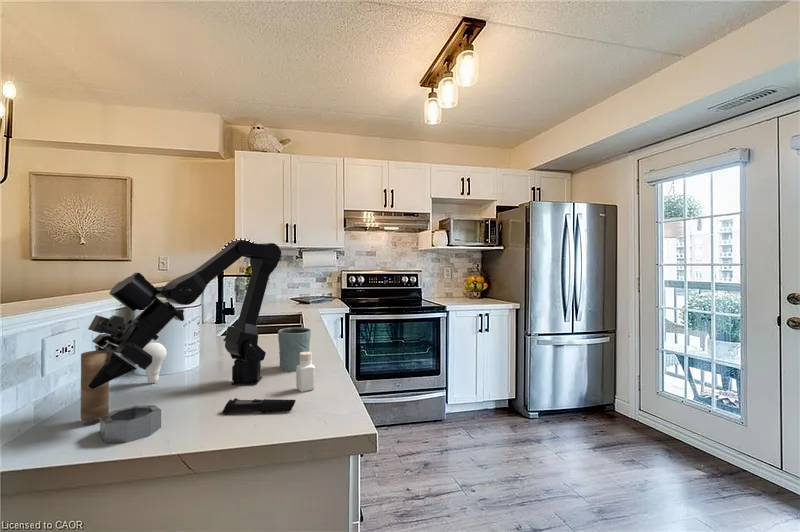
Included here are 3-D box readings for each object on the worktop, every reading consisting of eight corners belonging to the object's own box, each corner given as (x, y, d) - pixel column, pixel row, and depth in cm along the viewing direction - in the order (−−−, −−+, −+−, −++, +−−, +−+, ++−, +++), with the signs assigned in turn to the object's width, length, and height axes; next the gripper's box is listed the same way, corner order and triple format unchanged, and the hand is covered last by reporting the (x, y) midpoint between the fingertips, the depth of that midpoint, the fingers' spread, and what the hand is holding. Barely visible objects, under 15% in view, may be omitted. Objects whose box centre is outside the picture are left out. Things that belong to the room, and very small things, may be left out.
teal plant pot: (298, 362, 127) (298, 326, 127) (317, 367, 120) (317, 330, 120) (271, 368, 119) (271, 330, 119) (289, 374, 112) (290, 334, 112)
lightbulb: (156, 386, 100) (157, 345, 100) (133, 386, 100) (134, 344, 100) (171, 380, 106) (171, 340, 106) (149, 379, 106) (150, 340, 106)
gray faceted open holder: (168, 421, 78) (168, 404, 78) (141, 442, 69) (142, 422, 69) (122, 422, 77) (122, 405, 77) (89, 443, 68) (89, 423, 68)
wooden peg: (113, 411, 80) (114, 350, 80) (98, 420, 76) (99, 355, 76) (91, 411, 80) (91, 350, 80) (74, 420, 75) (75, 355, 75)
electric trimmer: (293, 416, 82) (293, 402, 82) (220, 416, 82) (221, 401, 82) (297, 410, 86) (297, 396, 86) (228, 409, 86) (228, 395, 86)
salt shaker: (310, 385, 102) (310, 350, 102) (315, 390, 99) (315, 353, 99) (295, 388, 100) (295, 352, 100) (300, 392, 96) (300, 355, 96)
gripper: (104, 298, 86) (37, 355, 78) (134, 303, 75) (61, 371, 66) (143, 328, 93) (86, 384, 84) (177, 337, 81) (115, 403, 73)
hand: (86, 385), depth 77 cm, fingers closed on wooden peg, 4 cm apart
